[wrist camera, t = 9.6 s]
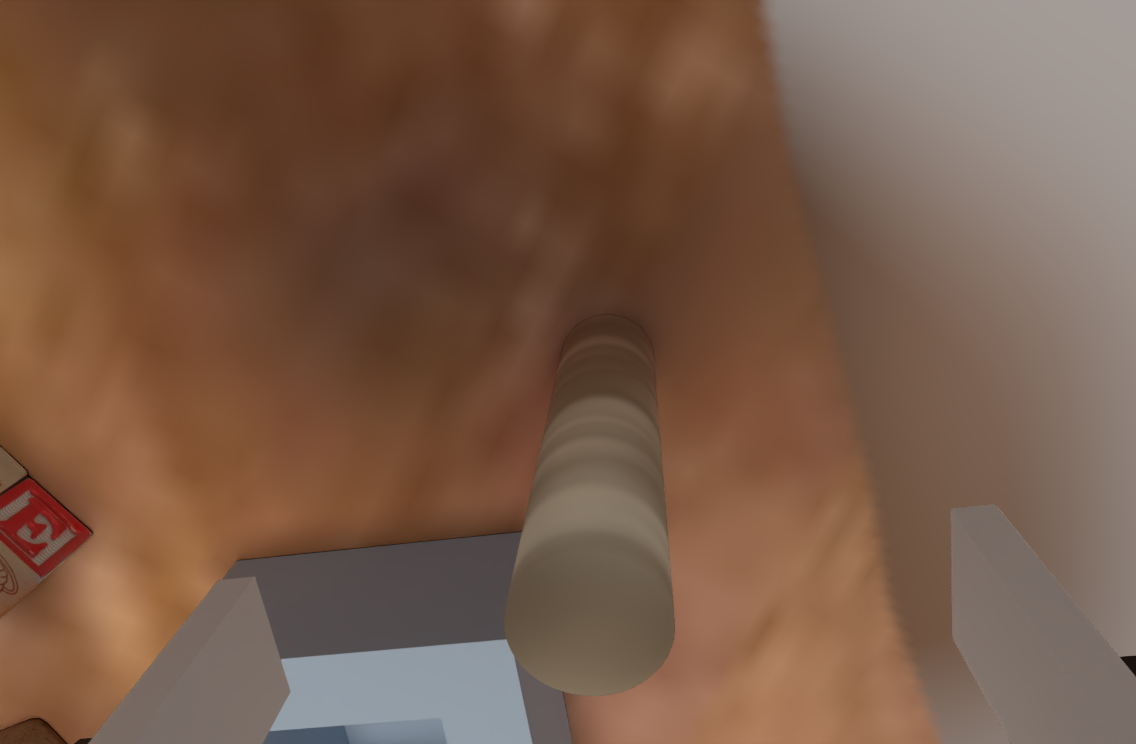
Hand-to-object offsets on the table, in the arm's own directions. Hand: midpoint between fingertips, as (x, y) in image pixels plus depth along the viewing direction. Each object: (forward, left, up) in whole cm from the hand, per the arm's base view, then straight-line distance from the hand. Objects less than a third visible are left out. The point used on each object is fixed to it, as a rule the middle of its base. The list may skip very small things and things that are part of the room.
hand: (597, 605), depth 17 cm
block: (+11, -9, -13) cm, 19 cm away
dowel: (0, 0, -13) cm, 13 cm away
